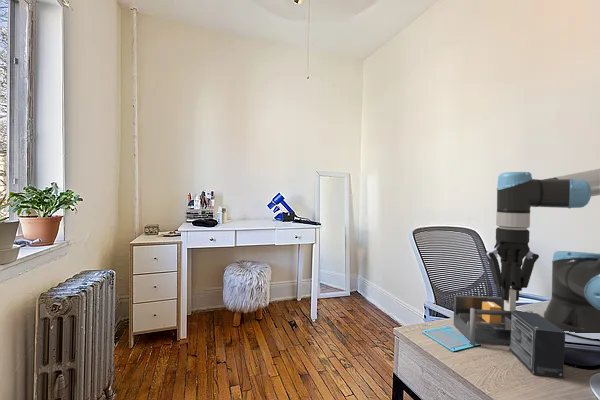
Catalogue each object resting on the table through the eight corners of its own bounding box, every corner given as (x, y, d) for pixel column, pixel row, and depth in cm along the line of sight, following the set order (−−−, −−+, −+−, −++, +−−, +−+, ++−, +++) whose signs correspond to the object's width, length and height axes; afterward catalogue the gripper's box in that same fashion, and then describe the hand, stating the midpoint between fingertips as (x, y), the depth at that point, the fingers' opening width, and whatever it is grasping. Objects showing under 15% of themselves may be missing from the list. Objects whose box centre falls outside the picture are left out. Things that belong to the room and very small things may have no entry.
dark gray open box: (502, 327, 87) (503, 297, 86) (525, 345, 76) (526, 311, 76) (452, 324, 88) (453, 295, 88) (469, 342, 78) (469, 309, 77)
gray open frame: (529, 347, 76) (530, 310, 75) (532, 349, 74) (533, 312, 74) (468, 343, 77) (469, 308, 77) (470, 346, 76) (471, 309, 76)
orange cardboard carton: (492, 318, 83) (493, 301, 83) (501, 324, 79) (501, 306, 79) (481, 318, 83) (482, 300, 83) (489, 324, 79) (489, 306, 79)
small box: (566, 379, 63) (568, 332, 62) (532, 375, 64) (533, 329, 64) (537, 352, 73) (538, 312, 73) (508, 349, 74) (509, 309, 74)
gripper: (528, 226, 83) (525, 307, 83) (480, 225, 84) (478, 305, 85) (548, 230, 75) (544, 318, 76) (495, 229, 77) (492, 316, 77)
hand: (509, 311), depth 80 cm, fingers closed
